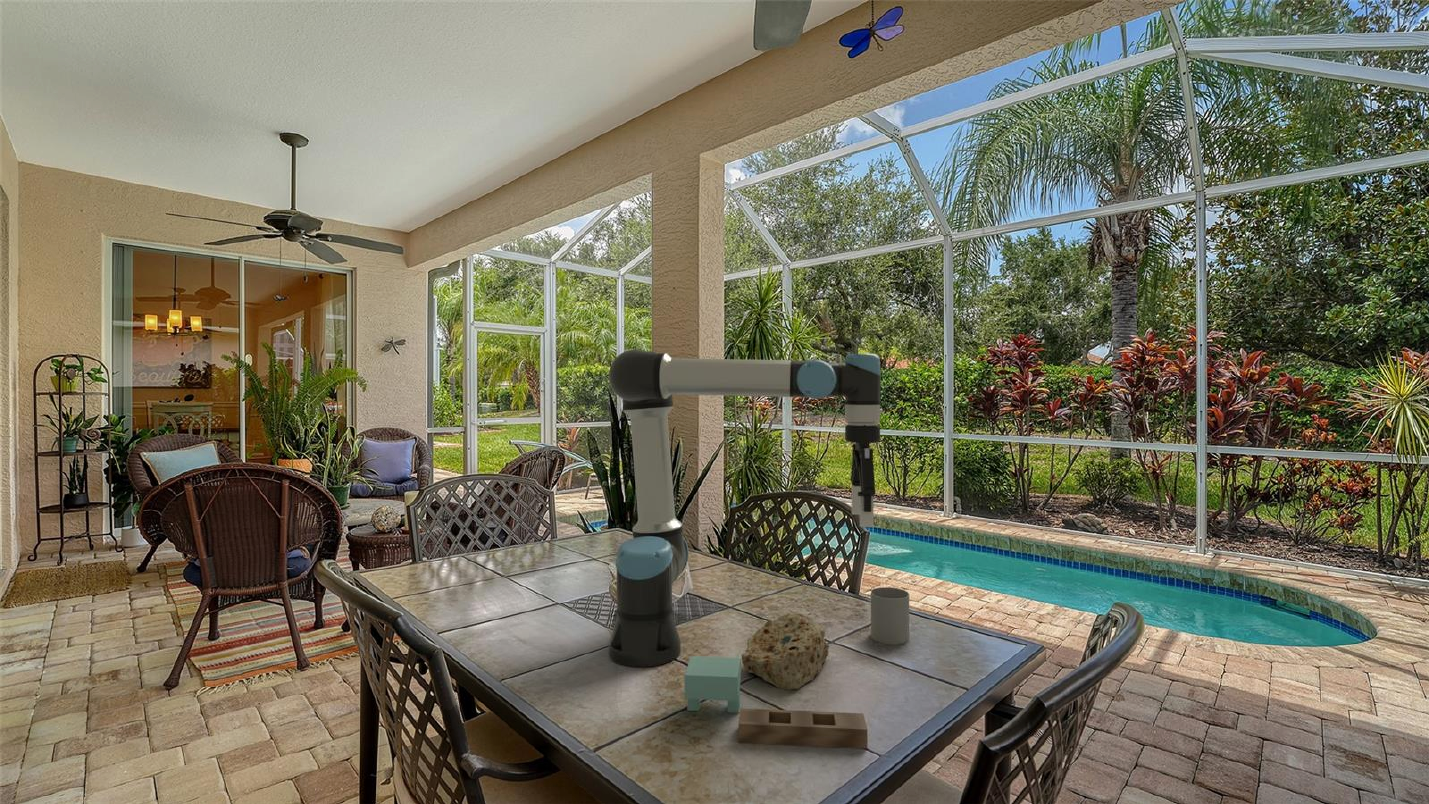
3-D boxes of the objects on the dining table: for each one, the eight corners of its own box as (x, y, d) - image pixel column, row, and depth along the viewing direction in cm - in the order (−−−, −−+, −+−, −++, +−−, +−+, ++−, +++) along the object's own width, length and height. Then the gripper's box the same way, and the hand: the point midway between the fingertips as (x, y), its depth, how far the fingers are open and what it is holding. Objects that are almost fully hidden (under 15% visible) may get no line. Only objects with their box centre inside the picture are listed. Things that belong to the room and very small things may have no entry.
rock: (810, 701, 119) (795, 648, 119) (741, 701, 126) (727, 651, 126) (843, 649, 137) (830, 602, 137) (781, 652, 144) (769, 608, 144)
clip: (684, 719, 111) (684, 675, 110) (691, 697, 118) (691, 656, 118) (738, 721, 110) (737, 677, 110) (740, 699, 118) (740, 657, 117)
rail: (738, 742, 103) (738, 723, 103) (740, 726, 108) (740, 708, 108) (867, 748, 101) (867, 729, 101) (863, 731, 106) (863, 713, 106)
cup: (910, 645, 141) (910, 600, 141) (871, 643, 143) (871, 597, 143) (907, 631, 150) (907, 588, 149) (870, 629, 151) (870, 586, 151)
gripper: (890, 427, 131) (889, 533, 131) (871, 421, 156) (870, 509, 156) (852, 427, 132) (851, 532, 132) (839, 421, 156) (838, 509, 157)
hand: (861, 520), depth 144 cm, fingers open, 13 cm apart
